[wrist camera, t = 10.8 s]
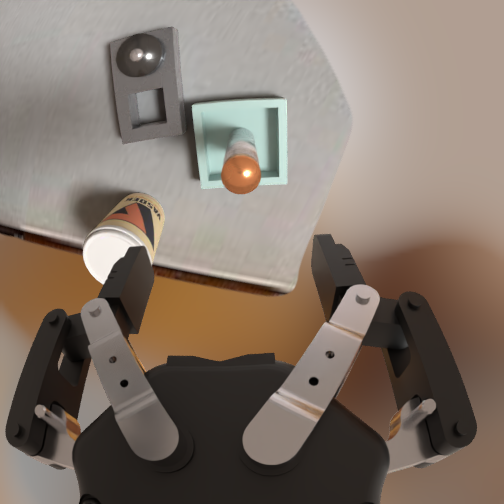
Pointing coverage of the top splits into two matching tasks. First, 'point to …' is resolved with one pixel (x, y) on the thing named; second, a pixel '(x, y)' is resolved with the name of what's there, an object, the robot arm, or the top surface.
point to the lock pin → (241, 162)
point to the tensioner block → (148, 82)
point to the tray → (241, 116)
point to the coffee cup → (123, 233)
